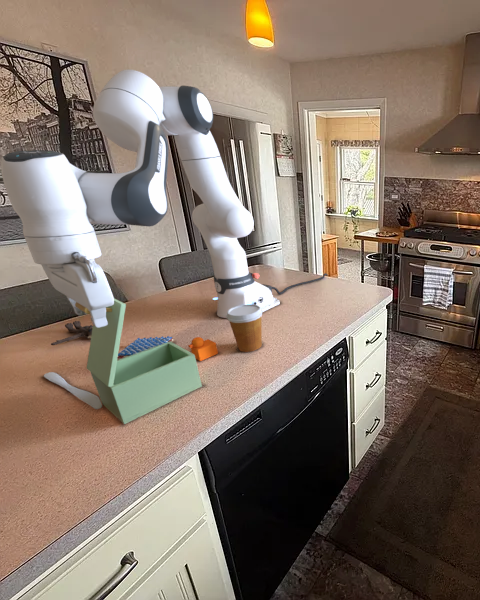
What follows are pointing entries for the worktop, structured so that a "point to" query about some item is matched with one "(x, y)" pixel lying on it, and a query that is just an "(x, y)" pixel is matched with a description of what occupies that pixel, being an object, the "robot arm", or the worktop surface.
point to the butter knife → (75, 390)
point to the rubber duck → (203, 348)
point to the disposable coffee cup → (246, 326)
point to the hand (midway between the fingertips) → (91, 319)
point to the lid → (106, 343)
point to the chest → (149, 381)
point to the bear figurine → (81, 330)
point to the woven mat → (143, 345)
